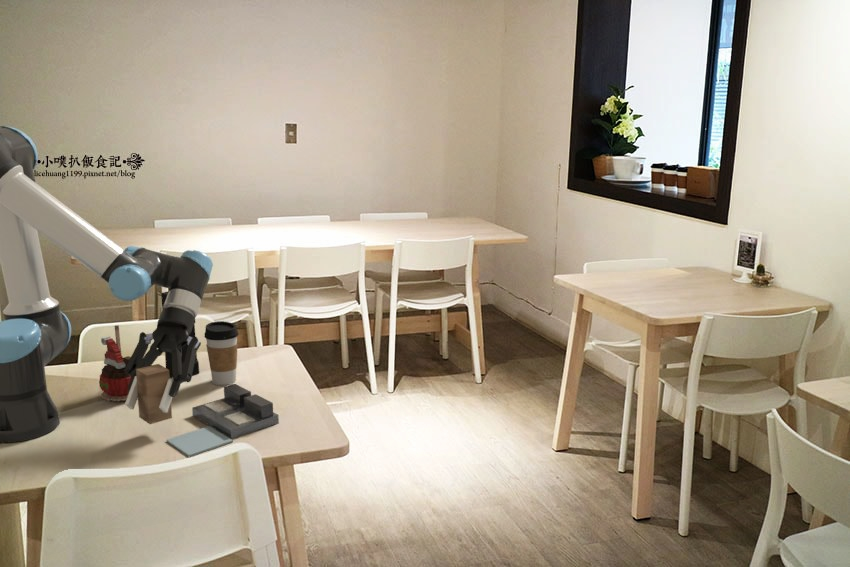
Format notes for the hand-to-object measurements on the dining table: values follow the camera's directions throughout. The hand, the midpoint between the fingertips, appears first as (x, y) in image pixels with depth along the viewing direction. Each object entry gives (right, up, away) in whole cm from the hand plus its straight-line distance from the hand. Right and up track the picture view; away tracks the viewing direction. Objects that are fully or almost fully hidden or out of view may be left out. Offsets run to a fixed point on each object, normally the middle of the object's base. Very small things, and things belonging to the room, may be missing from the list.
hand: (146, 408), depth 161 cm
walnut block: (0, -3, +4) cm, 5 cm away
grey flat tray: (+16, -5, +13) cm, 21 cm away
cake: (-15, -1, +26) cm, 30 cm away
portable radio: (-5, +2, +41) cm, 41 cm away
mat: (+11, -7, +2) cm, 13 cm away
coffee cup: (+7, +1, +36) cm, 37 cm away
